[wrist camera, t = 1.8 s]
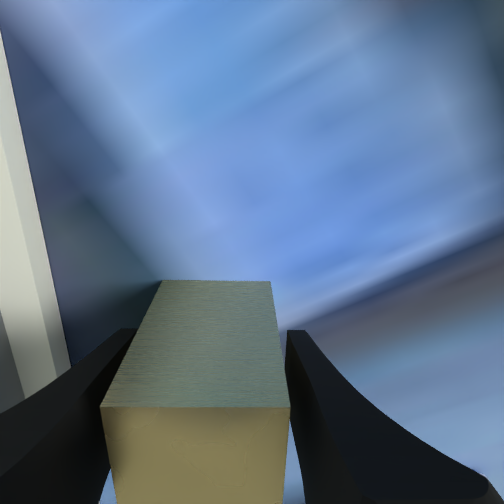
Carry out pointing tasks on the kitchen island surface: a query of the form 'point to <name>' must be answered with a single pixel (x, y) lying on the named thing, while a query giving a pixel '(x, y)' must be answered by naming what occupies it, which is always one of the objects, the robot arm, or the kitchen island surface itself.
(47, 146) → the kitchen island surface
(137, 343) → the block
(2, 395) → the coupling stand
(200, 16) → the kitchen island surface
